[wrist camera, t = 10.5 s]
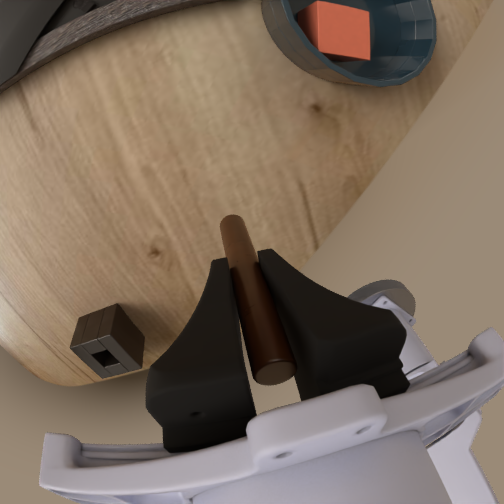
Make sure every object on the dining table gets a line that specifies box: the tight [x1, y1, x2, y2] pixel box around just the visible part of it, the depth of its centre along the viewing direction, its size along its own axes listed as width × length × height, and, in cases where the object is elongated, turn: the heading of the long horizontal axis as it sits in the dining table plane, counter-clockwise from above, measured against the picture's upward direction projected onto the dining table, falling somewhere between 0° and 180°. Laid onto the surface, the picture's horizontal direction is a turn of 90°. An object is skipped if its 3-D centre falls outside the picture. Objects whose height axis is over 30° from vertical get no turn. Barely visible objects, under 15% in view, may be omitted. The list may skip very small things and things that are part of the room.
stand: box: [70, 304, 145, 379], centre depth 24 cm, size 5×5×4 cm
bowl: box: [261, 0, 436, 87], centre depth 13 cm, size 11×11×4 cm
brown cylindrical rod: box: [220, 215, 298, 385], centre depth 12 cm, size 1×1×10 cm
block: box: [298, 1, 370, 62], centre depth 14 cm, size 4×4×4 cm
